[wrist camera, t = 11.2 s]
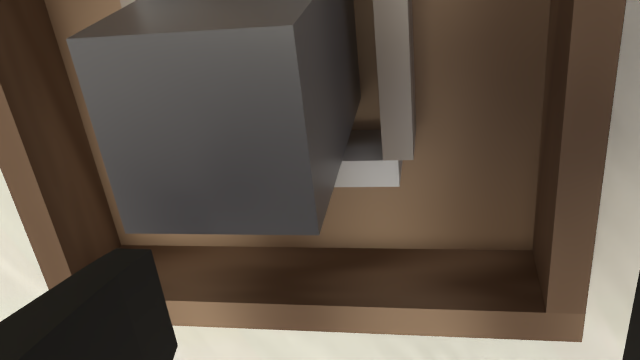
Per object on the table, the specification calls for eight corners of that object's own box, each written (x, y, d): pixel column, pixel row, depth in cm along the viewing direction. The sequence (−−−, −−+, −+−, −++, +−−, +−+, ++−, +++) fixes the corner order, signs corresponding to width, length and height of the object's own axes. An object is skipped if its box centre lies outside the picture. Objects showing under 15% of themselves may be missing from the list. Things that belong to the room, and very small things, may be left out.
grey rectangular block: (349, -49, 16) (292, 25, 10) (361, 98, 18) (319, 234, 12) (202, -36, 16) (65, 38, 10) (228, 102, 18) (125, 233, 12)
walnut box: (625, -380, 12) (684, -449, 9) (560, 265, 20) (581, 342, 17) (-59, -259, 15) (-179, -281, 12) (110, 257, 23) (61, 320, 20)
